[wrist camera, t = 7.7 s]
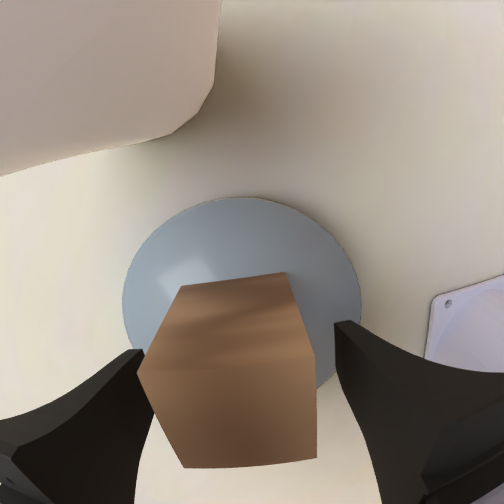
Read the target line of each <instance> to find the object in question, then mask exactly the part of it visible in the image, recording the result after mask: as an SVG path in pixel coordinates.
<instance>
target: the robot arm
mask: <svg viewBox="0 0 504 504" xmlns="http://www.w3.org/2000/svg"><path fill="white" fill-rule="evenodd" d="M447 300H448V302H447V304H446V305H445V303H446V301H447ZM334 339H335V367H336V371H337V374H338V377H339V381H340V384H341V387H342V390H343V392H344V394H345V396H346V398H347V401H348V403H349V405H350V407H351V409H352V411H353V413H354V416H355V418H356V420H357V422H358V424H359V426H360V429H361V431H362V433H363V436H364V438H365V441H366V444H367V447H368V451H369V454H370V457H371V461H372V464H373V468H374V472H375V475H376V479H377V483H378V487H379V492H380V496H381V501H382V504H504V275H502V276H499V277H496V278H493V279H490V280H487V281H484V282H481V283H478V284H475V285H472V286H468V287H465V288H462V289H459V290H455V291H452V292H449V293H445V294H442V295H439V296H437V297H436V298H435V299H434V300H433V302H432V305H431V313H430V322H429V330H428V338H427V345H426V351H425V357H424V358H421V357H419V356H416V355H413V354H411V353H409V352H407V351H404V350H402V349H400V348H398V347H396V346H394V345H392V344H390V343H388V342H387V341H385V340H383V339H381V338H380V337H378V336H376V335H375V334H373V333H371V332H370V331H368V330H366V329H365V328H363V327H362V326H360V325H358V324H357V323H355V322H353V321H352V320H345V321H340V322H335V323H334ZM144 357H145V354H144V352H143V349H129V350H127V351H125V352H124V353H122V354H121V355H119V356H118V357H117V358H115V359H114V360H113V361H111V362H110V363H109V364H107V365H106V366H105V367H103V368H102V369H101V370H100V371H98V372H97V373H96V374H94V375H93V376H92V377H90V378H89V379H87V380H86V381H85V382H83V383H82V384H80V385H79V386H77V387H76V388H75V389H73V390H71V391H70V392H68V393H67V394H65V395H63V396H61V397H60V398H58V399H56V400H54V401H52V402H50V403H48V404H46V405H44V406H41V407H39V408H37V409H35V410H32V411H30V412H27V413H24V414H21V415H18V416H15V417H11V418H8V419H3V420H0V483H1V485H0V504H134V498H135V488H136V480H137V473H138V467H139V461H140V457H141V453H142V450H143V447H144V444H145V441H146V438H147V435H148V432H149V428H150V425H151V422H152V419H153V416H154V411H153V408H152V406H151V404H150V402H149V400H148V398H147V396H146V393H145V391H144V389H143V387H142V384H141V382H140V380H139V377H138V375H137V371H138V369H139V367H140V365H141V363H142V361H143V359H144Z"/></svg>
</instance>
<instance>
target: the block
mask: <svg viewBox="0 0 504 504" xmlns="http://www.w3.org/2000/svg"><path fill="white" fill-rule="evenodd" d="M137 375H138V377H139V380H140V382H141V384H142V387H143V389H144V391H145V393H146V396H147V398H148V400H149V402H150V404H151V406H152V408H153V411H154V413H155V415H156V417H157V419H158V421H159V423H160V425H161V427H162V429H163V431H164V433H165V435H166V437H167V438H168V440H169V442H170V444H171V446H172V448H173V450H174V451H175V453H176V455H177V457H178V459H179V460H180V462H181V464H182V465H183V467H184V468H236V467H251V466H262V465H272V464H280V463H288V462H295V461H301V460H307V459H313V458H317V408H316V375H315V355H314V352H313V349H312V346H311V344H310V341H309V338H308V335H307V332H306V329H305V326H304V323H303V320H302V318H301V315H300V312H299V309H298V306H297V303H296V301H295V298H294V295H293V292H292V289H291V286H290V284H289V281H288V278H287V275H286V273H285V272H279V273H272V274H265V275H258V276H251V277H244V278H237V279H229V280H222V281H214V282H207V283H199V284H191V285H184V286H181V287H180V289H179V291H178V293H177V294H176V296H175V298H174V300H173V302H172V304H171V306H170V308H169V310H168V312H167V313H166V315H165V317H164V319H163V321H162V323H161V325H160V327H159V329H158V331H157V333H156V335H155V337H154V339H153V341H152V343H151V345H150V347H149V349H148V351H147V353H146V355H145V357H144V359H143V361H142V363H141V365H140V367H139V369H138V371H137Z"/></svg>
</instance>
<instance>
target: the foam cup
mask: <svg viewBox="0 0 504 504" xmlns="http://www.w3.org/2000/svg"><path fill="white" fill-rule="evenodd" d="M221 2H222V0H0V177H1V176H4V175H7V174H11V173H14V172H17V171H20V170H23V169H27V168H30V167H34V166H37V165H41V164H45V163H48V162H52V161H56V160H60V159H64V158H68V157H72V156H77V155H81V154H86V153H90V152H95V151H100V150H105V149H110V148H116V147H121V146H127V145H133V144H137V143H142V142H145V141H149V140H152V139H155V138H159V137H163V136H166V135H170V134H172V133H173V132H174V131H176V130H177V129H178V128H179V127H181V126H182V125H183V124H184V123H186V122H187V121H188V120H190V119H191V118H192V117H194V116H195V115H196V114H197V113H198V112H199V110H200V108H201V106H202V104H203V103H204V101H205V99H206V97H207V96H208V94H209V92H210V90H211V89H212V87H213V83H214V75H215V62H216V51H217V40H218V30H219V20H220V11H221Z"/></svg>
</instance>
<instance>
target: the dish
mask: <svg viewBox="0 0 504 504" xmlns="http://www.w3.org/2000/svg"><path fill="white" fill-rule="evenodd" d="M279 272H285V273H286V275H287V278H288V281H289V284H290V286H291V289H292V292H293V295H294V298H295V301H296V303H297V306H298V309H299V312H300V315H301V318H302V320H303V323H304V326H305V329H306V332H307V335H308V338H309V341H310V344H311V346H312V349H313V352H314V355H315V375H316V389H317V388H318V387H320V386H321V385H322V384H323V383H324V382H325V381H327V380H328V379H329V378H330V377H331V376H332V375H333V374H334V373H335V372H336V367H335V339H334V323H335V322H340V321H345V320H352V321H353V322H355V323H357V324H358V325H359V323H360V318H361V295H360V288H359V284H358V280H357V276H356V273H355V271H354V269H353V266H352V264H351V262H350V260H349V258H348V257H347V255H346V253H345V252H344V250H343V248H342V247H341V246H340V245H339V244H338V242H337V241H336V240H335V239H334V238H333V236H331V235H330V234H329V233H328V232H327V231H326V230H325V229H324V228H323V227H321V226H320V225H319V224H318V223H317V222H315V221H314V220H312V219H311V218H309V217H308V216H306V215H305V214H303V213H301V212H299V211H297V210H295V209H293V208H291V207H289V206H286V205H283V204H280V203H277V202H273V201H270V200H264V199H258V198H248V197H232V198H223V199H216V200H212V201H208V202H204V203H201V204H198V205H196V206H193V207H191V208H189V209H186V210H184V211H183V212H181V213H179V214H177V215H176V216H174V217H172V218H171V219H169V220H168V221H166V222H165V223H164V224H163V225H161V226H160V227H159V228H158V229H157V230H155V231H154V232H153V233H152V234H151V235H150V237H149V238H148V239H147V240H146V241H145V242H144V243H143V245H142V246H141V248H140V249H139V250H138V252H137V253H136V255H135V257H134V259H133V261H132V263H131V265H130V267H129V269H128V273H127V276H126V280H125V283H124V289H123V297H122V307H123V317H124V324H125V328H126V331H127V334H128V338H129V340H130V342H131V344H132V346H133V349H143V352H144V354H145V355H146V353H147V351H148V349H149V347H150V345H151V343H152V341H153V339H154V337H155V335H156V333H157V331H158V329H159V327H160V325H161V323H162V321H163V319H164V317H165V315H166V313H167V312H168V310H169V308H170V306H171V304H172V302H173V300H174V298H175V296H176V294H177V293H178V291H179V289H180V287H181V286H184V285H191V284H199V283H207V282H214V281H222V280H229V279H237V278H244V277H251V276H258V275H265V274H272V273H279Z"/></svg>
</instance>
